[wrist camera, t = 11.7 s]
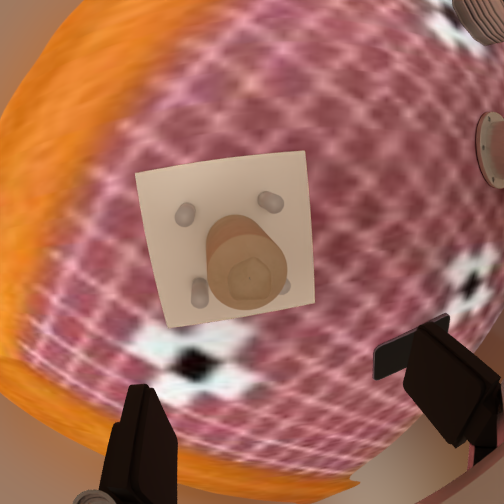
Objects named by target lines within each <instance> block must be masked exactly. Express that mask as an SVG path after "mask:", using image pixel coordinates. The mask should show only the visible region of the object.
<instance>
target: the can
mask: <svg viewBox="0 0 504 504" xmlns="http://www.w3.org/2000/svg"><path fill="white" fill-rule="evenodd" d="M452 5H453V8H454V10H455V12H456V14H457V16H458V18H459V20H460V22H461V24H462V25H463V26H464V27H465V28H466V30H467V31H468V32H469V33H470V35H471V36H472V37H473V38H474V39H475V40H476V41H478V42H480V43H481V44H483V45H484V46H486V45H491V44H495V43H500V42H504V0H452Z"/></svg>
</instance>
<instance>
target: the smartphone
mask: <svg viewBox="0 0 504 504" xmlns="http://www.w3.org/2000/svg"><path fill="white" fill-rule="evenodd" d="M430 321H432V322H434V323H436V324H437V325H438V326H439V327H441V328H442V329H443V330H444V331H446V332H447V333H448V329H449V323H450V316H449V315H448V314H447V313H444V314H442V315H440V316H438V317H436V318H434V319H432V320H430ZM430 321H428V322H430ZM426 323H427V322H426ZM424 324H425V323H424ZM417 328H418V327H416V328H414V329H412V330H410V331H408V332H406V333H404V334H402V335H400V336H398V337H395V338H393V339H391V340H389V341H387V342H384V343H382V344H380V345H378V346H377V347H376V348H375V350H374V352H373V379H374V380H380V379H382V378H385V377H387V376H389V375H391V374H394V373H396V372H398V371H400V370H402V369H404V368H406V367H407V365H408V360H409V356H410V351H411V347H412V342H413V337H414V333H415V331H416V330H417Z"/></svg>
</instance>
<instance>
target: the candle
mask: <svg viewBox="0 0 504 504" xmlns="http://www.w3.org/2000/svg"><path fill="white" fill-rule="evenodd" d="M206 262H207V280H208V284H209V287H210V289H211V291H212V293H213V294H214V296H215V297H216V298H217V299H218V300H219V301H220V302H221V303H223V304H224V305H226V306H228V307H230V308H233V309H237V310H253V309H257V308H260V307H263V306H265V305H267V304H268V303H270V302H271V301H272V300H274V299H275V298H276V297H277V296H278V294H279V293H280V292H281V290H282V289H283V287H284V285H285V282H286V278H287V262H286V259H285V256H284V254H283V252H282V250H281V249H280V248H279V247H278V245H277V244H276V243H275V242H274V241H273V240H272V239H271V238H270V237H269V236H268V235H267V234H266V233H265V232H264V230H263V229H262V228H261V227H260V226H259V225H258V224H257V223H256V222H255V221H253V220H252V219H250V218H248V217H246V216H243V215H229V216H225V217H223V218H221V219H219V220H218V221H217V222H215V224H214V225H213V226H212V227H211V228H210V230H209V232H208V235H207V239H206Z"/></svg>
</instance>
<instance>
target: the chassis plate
mask: <svg viewBox="0 0 504 504" xmlns="http://www.w3.org/2000/svg"><path fill="white" fill-rule="evenodd" d="M135 177H136V184H137V190H138V197H139V203H140V209H141V214H142V220H143V225H144V230H145V235H146V240H147V245H148V250H149V255H150V259H151V264H152V268H153V273H154V277H155V281H156V285H157V289H158V293H159V297H160V301H161V305H162V309H163V312H164V316H165V320H166V323H167V327H168V328H173V327H181V326H188V325H195V324H201V323H208V322H215V321H221V320H227V319H233V318H239V317H245V316H250V315H256V314H261V313H267V312H272V311H277V310H283V309H288V308H293V307H298V306H302V305H307V304H312V303H315V290H314V264H313V244H312V228H311V213H310V200H309V188H308V176H307V166H306V156H305V151H293V152H280V153H269V154H258V155H249V156H240V157H232V158H224V159H216V160H209V161H202V162H196V163H189V164H183V165H177V166H171V167H166V168H160V169H155V170H150V171H145V172H140V173H135ZM229 215H243V216H246V217H248V218H250V219H252V220H253V221H255V222H256V223H257V224H258V225H259V226H260V227H261V228H262V229H263V230H264V232H265V233H266V234H267V235H268V236H269V237H270V238H271V239H272V240H273V241H274V242H275V243H276V244H277V245H278V247H279V248H280V249H281V250H282V252H283V254H284V256H285V259H286V262H287V278H286V282H285V285H284V287H283V289H282V290H281V292H280V293H279V294H278V296H277V297H276V298H275V299H274V300H272V301H271V302H270V303H268V304H267V305H265V306H263V307H260V308H257V309H253V310H237V309H233V308H230V307H228V306H226V305H224V304H223V303H221V302H220V301H219V300H218V299H217V298H216V297H215V296H214V294H213V293H212V291H211V289H210V287H209V284H208V280H207V262H206V239H207V235H208V232H209V230H210V228H211V227H212V226H213V225H214V224H215V222H217V221H218V220H219V219H221V218H223V217H225V216H229Z"/></svg>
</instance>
